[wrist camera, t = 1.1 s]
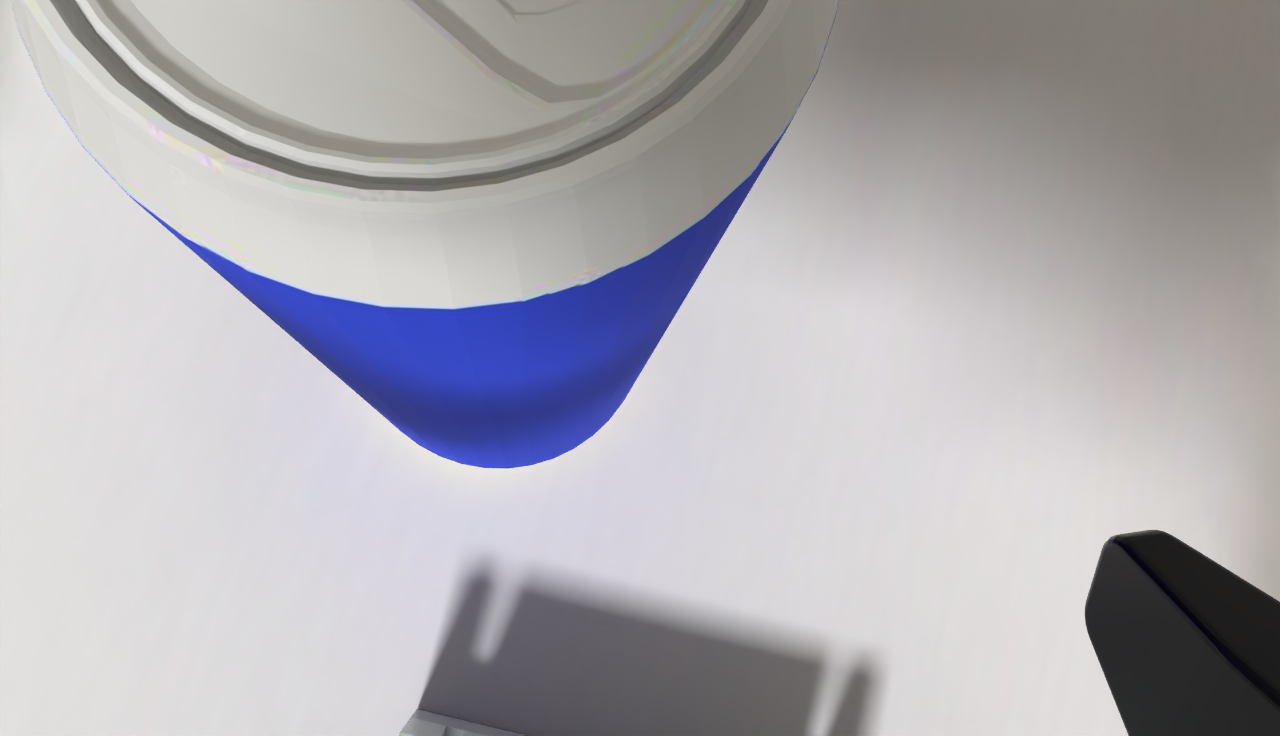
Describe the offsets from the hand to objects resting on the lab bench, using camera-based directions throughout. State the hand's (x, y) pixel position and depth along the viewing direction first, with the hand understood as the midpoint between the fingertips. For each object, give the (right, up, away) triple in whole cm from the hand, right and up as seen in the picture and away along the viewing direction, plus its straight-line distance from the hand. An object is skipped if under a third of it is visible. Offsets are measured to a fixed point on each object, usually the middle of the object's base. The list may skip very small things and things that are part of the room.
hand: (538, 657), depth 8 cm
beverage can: (-2, +3, +13) cm, 13 cm away
